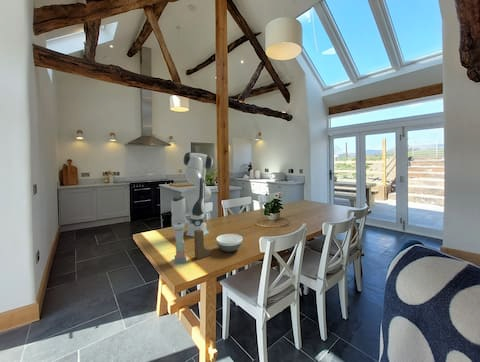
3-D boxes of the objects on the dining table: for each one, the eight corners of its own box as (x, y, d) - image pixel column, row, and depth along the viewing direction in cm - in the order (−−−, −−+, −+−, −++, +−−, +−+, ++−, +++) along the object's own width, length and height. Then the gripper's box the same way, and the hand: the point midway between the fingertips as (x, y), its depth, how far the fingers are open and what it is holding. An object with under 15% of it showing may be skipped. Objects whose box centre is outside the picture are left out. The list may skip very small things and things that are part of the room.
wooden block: (206, 253, 154) (205, 227, 152) (210, 255, 150) (209, 229, 148) (194, 257, 148) (193, 230, 146) (198, 259, 144) (197, 232, 143)
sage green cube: (176, 248, 144) (175, 240, 144) (184, 247, 146) (183, 239, 145) (176, 251, 139) (175, 243, 139) (184, 250, 141) (184, 242, 140)
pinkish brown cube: (176, 255, 145) (176, 248, 144) (184, 254, 146) (184, 247, 146) (176, 259, 140) (176, 251, 139) (184, 258, 141) (184, 250, 141)
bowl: (211, 248, 163) (211, 236, 162) (233, 242, 173) (233, 232, 172) (224, 257, 147) (224, 245, 146) (247, 251, 157) (247, 239, 156)
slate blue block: (174, 258, 146) (174, 255, 145) (186, 257, 147) (186, 253, 147) (174, 263, 139) (174, 260, 139) (186, 262, 141) (186, 258, 140)
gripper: (174, 218, 150) (174, 238, 151) (173, 228, 130) (174, 251, 132) (184, 218, 151) (184, 238, 153) (184, 227, 132) (185, 250, 133)
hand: (179, 244), depth 142 cm, fingers open, 8 cm apart
